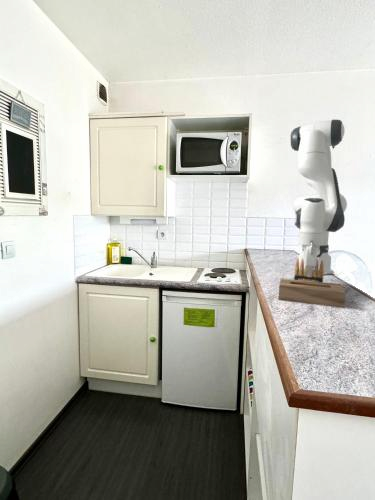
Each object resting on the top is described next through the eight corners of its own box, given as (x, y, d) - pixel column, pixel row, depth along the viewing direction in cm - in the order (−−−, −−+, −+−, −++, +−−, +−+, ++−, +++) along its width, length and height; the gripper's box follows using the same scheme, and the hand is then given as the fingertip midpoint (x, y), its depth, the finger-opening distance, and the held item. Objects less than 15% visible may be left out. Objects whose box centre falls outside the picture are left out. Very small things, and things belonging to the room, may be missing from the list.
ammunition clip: (322, 289, 109) (324, 259, 107) (322, 291, 107) (324, 260, 105) (293, 286, 113) (295, 257, 112) (293, 287, 112) (295, 258, 110)
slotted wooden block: (280, 291, 106) (280, 278, 105) (338, 297, 99) (340, 283, 98) (278, 299, 96) (279, 285, 95) (343, 307, 89) (345, 292, 88)
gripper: (322, 243, 97) (319, 281, 99) (318, 238, 116) (315, 270, 118) (302, 242, 99) (300, 279, 101) (301, 237, 118) (299, 269, 120)
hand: (308, 274), depth 110 cm, fingers open, 6 cm apart
